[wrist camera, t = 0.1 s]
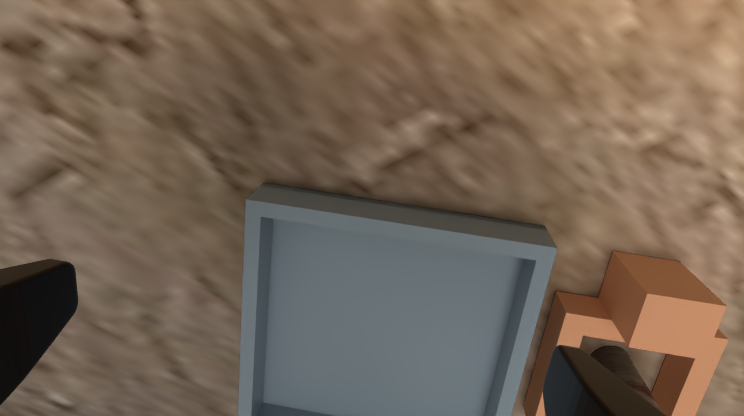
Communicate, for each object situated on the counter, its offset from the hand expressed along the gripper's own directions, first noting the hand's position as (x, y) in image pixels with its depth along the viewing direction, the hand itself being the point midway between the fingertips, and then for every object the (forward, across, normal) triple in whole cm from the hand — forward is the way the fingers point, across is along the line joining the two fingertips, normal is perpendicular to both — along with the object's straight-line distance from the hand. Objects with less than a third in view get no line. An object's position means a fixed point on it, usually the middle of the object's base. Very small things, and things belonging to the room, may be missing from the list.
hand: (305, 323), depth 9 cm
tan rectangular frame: (+15, -13, +8) cm, 21 cm away
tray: (+15, -1, +9) cm, 17 cm away
